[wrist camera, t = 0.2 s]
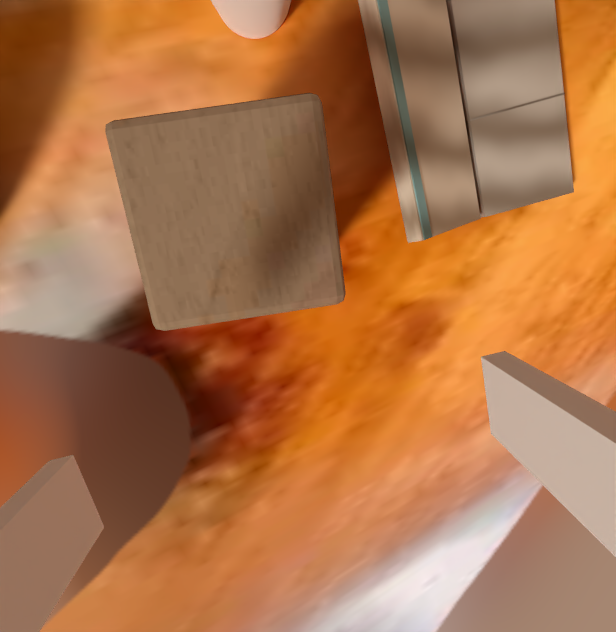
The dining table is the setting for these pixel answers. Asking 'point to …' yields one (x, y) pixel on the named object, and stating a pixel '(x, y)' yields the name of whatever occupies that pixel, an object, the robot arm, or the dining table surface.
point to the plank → (421, 113)
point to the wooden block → (230, 209)
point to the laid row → (512, 100)
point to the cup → (253, 16)
